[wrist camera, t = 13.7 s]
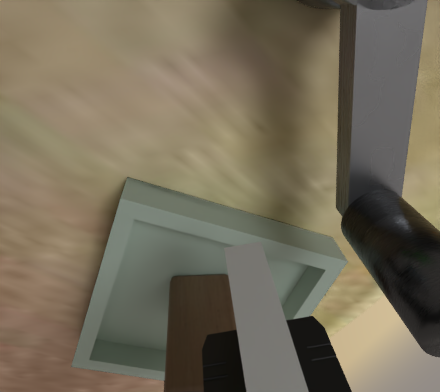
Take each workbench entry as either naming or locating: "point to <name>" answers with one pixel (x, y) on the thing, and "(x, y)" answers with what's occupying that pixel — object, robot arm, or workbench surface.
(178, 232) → the tray
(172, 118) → the workbench surface
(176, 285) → the wooden block
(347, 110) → the crank
